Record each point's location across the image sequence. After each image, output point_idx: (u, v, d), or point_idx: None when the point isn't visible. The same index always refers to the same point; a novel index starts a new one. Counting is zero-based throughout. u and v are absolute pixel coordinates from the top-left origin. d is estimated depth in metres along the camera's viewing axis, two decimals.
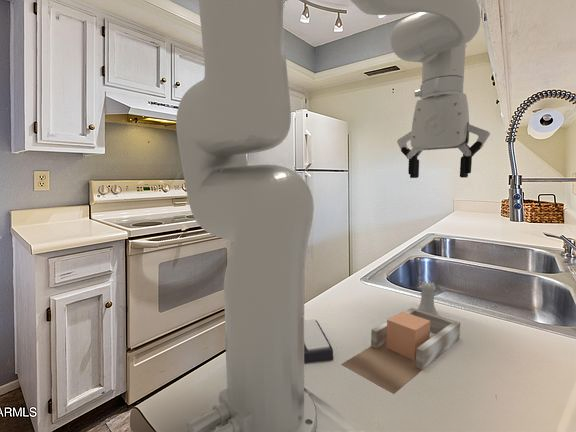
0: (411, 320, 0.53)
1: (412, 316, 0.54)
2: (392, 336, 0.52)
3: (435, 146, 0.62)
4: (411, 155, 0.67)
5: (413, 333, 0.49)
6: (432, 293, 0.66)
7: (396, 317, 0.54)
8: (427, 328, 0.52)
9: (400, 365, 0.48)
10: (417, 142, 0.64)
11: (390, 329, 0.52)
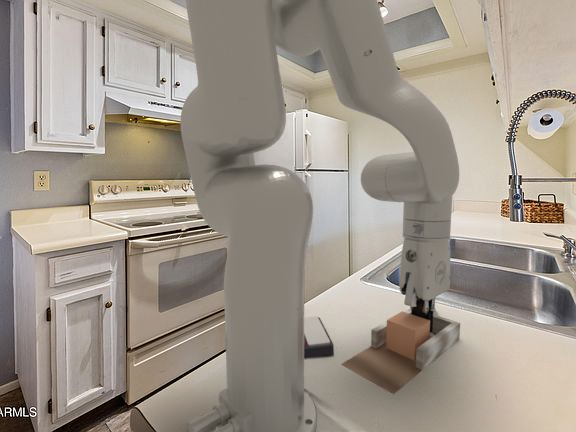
0: (411, 320, 0.52)
1: (412, 316, 0.54)
2: (392, 336, 0.52)
3: None
4: (427, 307, 0.54)
5: (413, 333, 0.49)
6: None
7: (396, 317, 0.54)
8: (427, 328, 0.52)
9: (400, 365, 0.48)
10: (430, 294, 0.51)
11: (389, 329, 0.52)
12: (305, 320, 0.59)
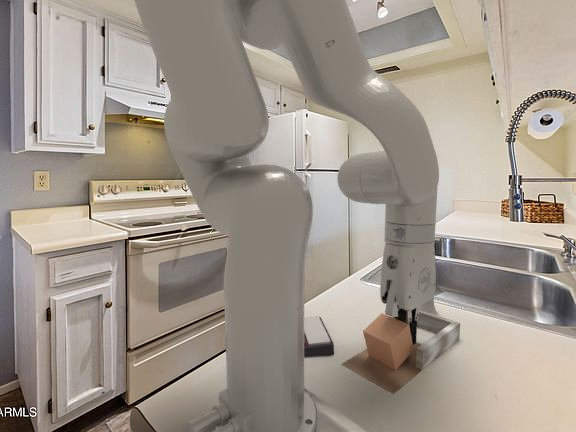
0: (389, 326, 0.49)
1: (390, 320, 0.50)
2: (371, 346, 0.49)
3: None
4: (410, 317, 0.50)
5: (388, 346, 0.46)
6: None
7: (373, 325, 0.50)
8: (406, 333, 0.48)
9: (400, 365, 0.48)
10: (412, 303, 0.47)
11: (367, 340, 0.49)
12: (306, 319, 0.60)
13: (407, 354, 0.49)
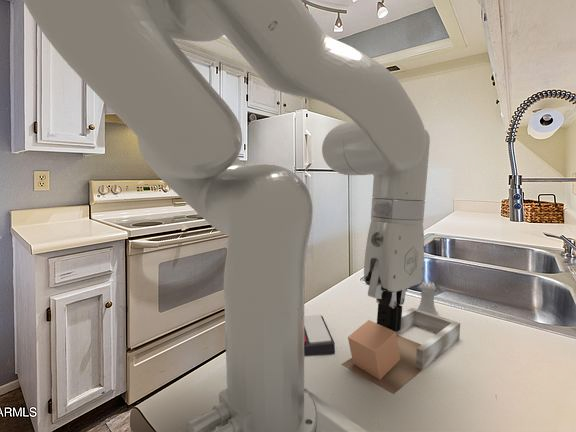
0: (375, 333, 0.47)
1: (377, 327, 0.48)
2: (356, 354, 0.47)
3: (408, 287, 0.46)
4: (394, 301, 0.47)
5: (373, 353, 0.44)
6: (432, 293, 0.66)
7: (359, 331, 0.48)
8: (393, 341, 0.46)
9: (400, 365, 0.48)
10: (397, 284, 0.44)
11: (352, 347, 0.47)
12: (308, 318, 0.60)
13: (393, 363, 0.46)
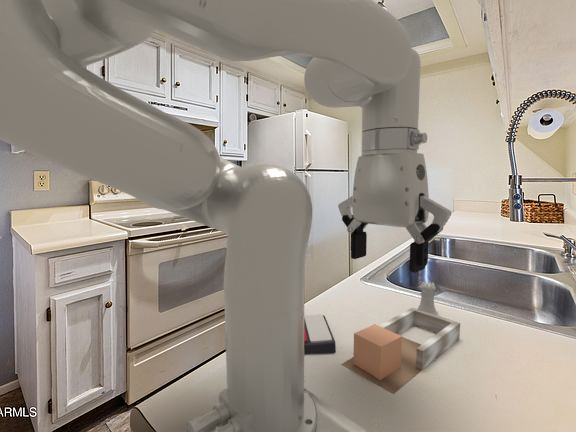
0: (381, 334, 0.48)
1: (383, 330, 0.49)
2: (359, 352, 0.48)
3: None
4: None
5: (378, 349, 0.45)
6: (432, 293, 0.66)
7: (365, 330, 0.49)
8: (397, 344, 0.47)
9: None
10: None
11: (356, 344, 0.48)
12: (310, 318, 0.61)
13: (394, 368, 0.47)
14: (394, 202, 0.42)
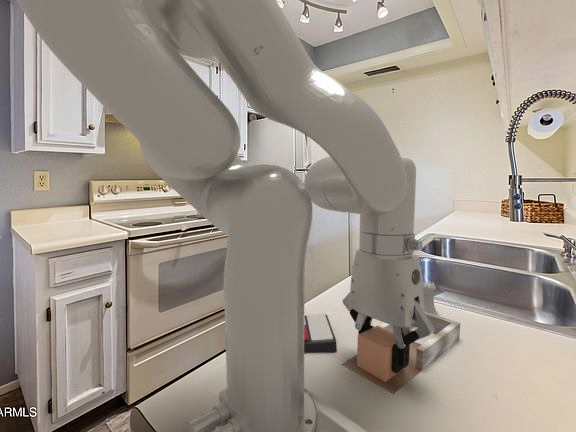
0: (385, 336, 0.47)
1: (386, 331, 0.49)
2: (363, 354, 0.47)
3: None
4: None
5: (383, 351, 0.44)
6: (432, 293, 0.66)
7: (369, 332, 0.48)
8: None
9: None
10: None
11: (360, 345, 0.47)
12: (312, 317, 0.61)
13: None
14: (390, 304, 0.43)
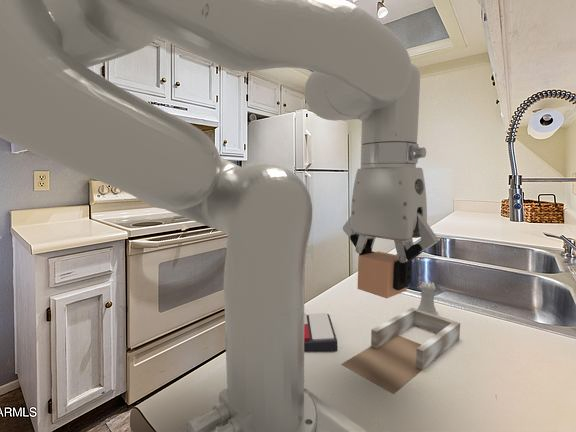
0: (386, 256, 0.46)
1: (388, 254, 0.47)
2: (364, 274, 0.46)
3: None
4: None
5: (385, 266, 0.43)
6: (432, 293, 0.66)
7: (370, 254, 0.47)
8: None
9: (400, 365, 0.48)
10: None
11: (361, 266, 0.46)
12: (314, 316, 0.61)
13: (400, 290, 0.45)
14: (392, 216, 0.42)
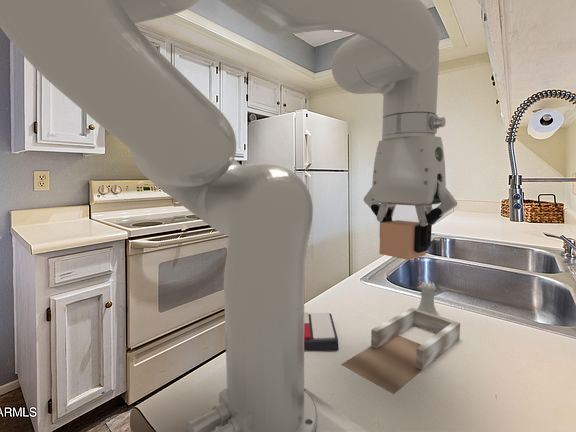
0: (407, 222, 0.49)
1: (407, 221, 0.50)
2: (386, 239, 0.49)
3: None
4: None
5: (407, 230, 0.46)
6: (432, 293, 0.66)
7: (391, 222, 0.50)
8: None
9: (400, 365, 0.48)
10: None
11: (383, 232, 0.49)
12: (316, 315, 0.61)
13: (420, 253, 0.48)
14: (414, 182, 0.45)
